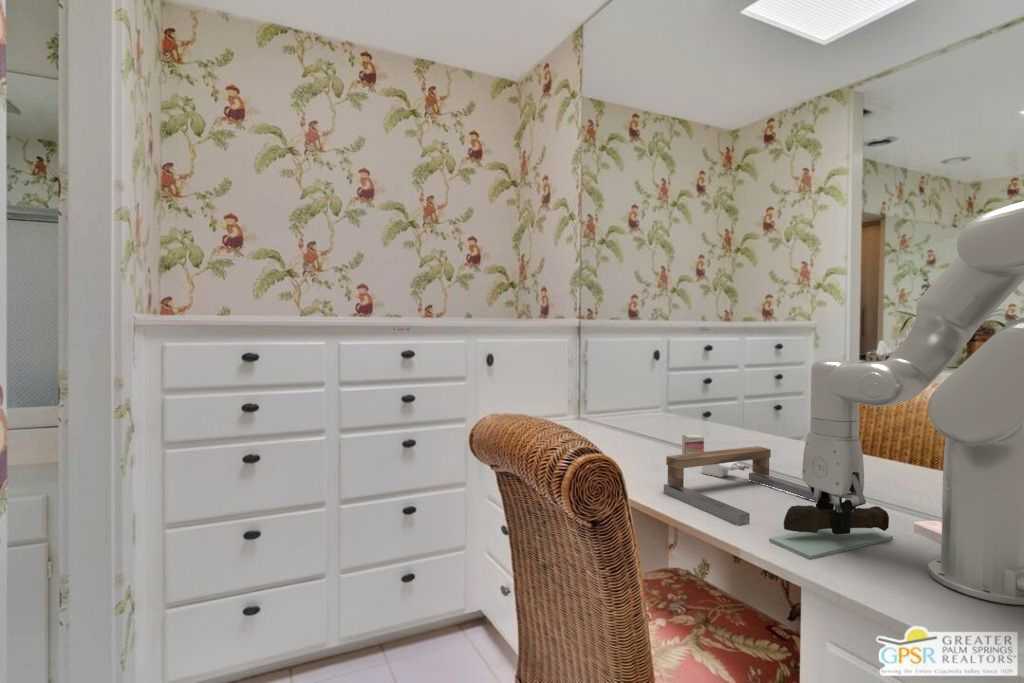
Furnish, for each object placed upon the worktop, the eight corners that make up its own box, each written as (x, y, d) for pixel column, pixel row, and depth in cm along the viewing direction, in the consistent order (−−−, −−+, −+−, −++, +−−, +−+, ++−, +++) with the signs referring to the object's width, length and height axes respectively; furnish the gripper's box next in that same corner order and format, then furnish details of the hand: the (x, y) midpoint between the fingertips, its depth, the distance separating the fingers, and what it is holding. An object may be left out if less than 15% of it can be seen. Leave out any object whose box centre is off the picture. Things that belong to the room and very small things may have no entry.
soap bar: (936, 532, 100) (937, 519, 100) (985, 551, 91) (985, 538, 91) (911, 533, 100) (912, 520, 99) (958, 553, 91) (958, 539, 90)
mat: (893, 539, 95) (893, 536, 95) (809, 559, 87) (810, 555, 87) (849, 524, 103) (849, 521, 103) (769, 541, 94) (769, 538, 94)
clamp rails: (840, 505, 114) (841, 496, 114) (738, 525, 102) (738, 515, 102) (757, 479, 134) (757, 471, 134) (663, 493, 122) (663, 484, 122)
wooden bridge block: (770, 474, 130) (770, 449, 130) (677, 488, 118) (678, 460, 118) (757, 470, 133) (757, 446, 133) (666, 483, 122) (666, 456, 122)
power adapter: (750, 479, 134) (750, 457, 134) (742, 483, 130) (742, 460, 130) (709, 471, 142) (709, 449, 142) (700, 474, 139) (700, 452, 138)
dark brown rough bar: (873, 524, 98) (874, 499, 98) (890, 532, 94) (890, 507, 94) (775, 526, 97) (775, 501, 96) (788, 535, 93) (788, 509, 92)
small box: (686, 464, 149) (687, 436, 149) (681, 460, 153) (682, 433, 153) (704, 464, 149) (704, 436, 149) (698, 460, 153) (699, 433, 153)
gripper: (785, 421, 102) (783, 514, 102) (851, 438, 86) (849, 549, 86) (819, 420, 103) (818, 512, 103) (891, 437, 87) (889, 546, 87)
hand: (832, 528), depth 95 cm, fingers closed on dark brown rough bar, 3 cm apart
